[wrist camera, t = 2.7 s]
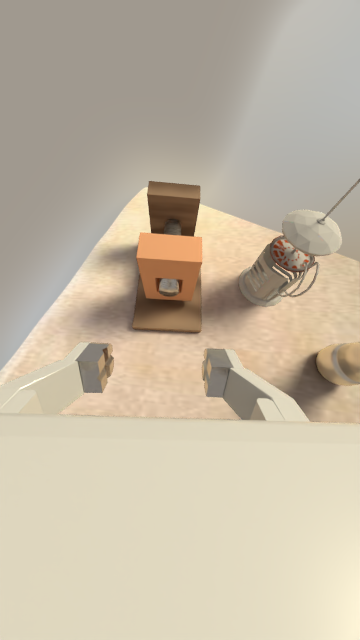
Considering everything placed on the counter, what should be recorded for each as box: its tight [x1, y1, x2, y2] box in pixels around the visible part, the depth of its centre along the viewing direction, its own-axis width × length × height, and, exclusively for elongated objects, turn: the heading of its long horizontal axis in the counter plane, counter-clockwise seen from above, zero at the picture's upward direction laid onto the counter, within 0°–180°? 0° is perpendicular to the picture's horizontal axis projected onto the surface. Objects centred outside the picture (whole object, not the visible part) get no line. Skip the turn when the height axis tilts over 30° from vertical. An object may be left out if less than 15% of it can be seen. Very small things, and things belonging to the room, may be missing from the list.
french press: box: [239, 179, 360, 307], centre depth 25 cm, size 10×12×25 cm
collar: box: [136, 232, 202, 301], centre depth 27 cm, size 4×8×10 cm, turn 88°
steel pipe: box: [159, 218, 181, 297], centre depth 29 cm, size 15×3×3 cm, turn 178°
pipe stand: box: [133, 181, 201, 332], centre depth 30 cm, size 21×12×12 cm, turn 178°
